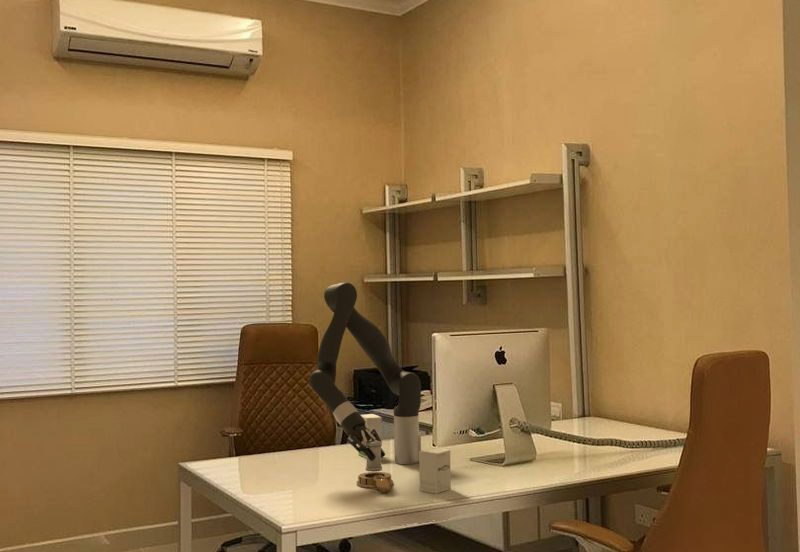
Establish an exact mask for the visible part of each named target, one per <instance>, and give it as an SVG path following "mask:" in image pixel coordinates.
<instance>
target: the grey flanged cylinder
mask: <svg viewBox="0 0 800 552" xmlns="http://www.w3.org/2000/svg"><path fill="white" fill-rule="evenodd" d="M381 441H382V440H381ZM381 441H368V442H367V443H366V444H367V445H368V447H369V448H370V449H371V450H372V452H373V453H374V454H375V456H376V458H375V459H374V460H373V461H370V459H369V458H368V457H367V455H366V458H365V459H366V466H365V471H366V472H382V471H383V466H382V458H381V448H382V447H383V446H382V445H383V441H382V442H381Z"/></svg>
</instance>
